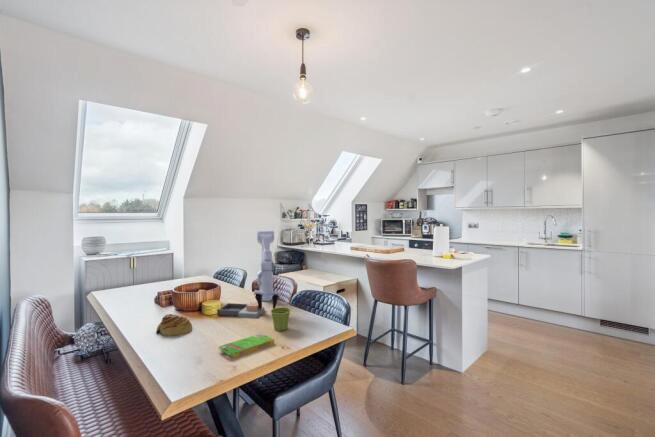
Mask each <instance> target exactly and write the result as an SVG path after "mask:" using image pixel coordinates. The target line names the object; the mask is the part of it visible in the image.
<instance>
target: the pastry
mask: <svg viewBox="0 0 655 437" xmlns="http://www.w3.org/2000/svg"><path fill="white" fill-rule="evenodd" d="M192 331H193V325H192V323H191V321H190V319H189V318H187V317H184V316H182V315H181V316H179V315H176V314H172V313H168V314H166V315H165V314H164V316H163V317H162V318H161V322H159V324H158V325H157V327H156V332H155V333H156V334H161V335H162V336H165V337H174V336H179V335H180V336H181V335H185V334H188V333H191V332H192Z"/></svg>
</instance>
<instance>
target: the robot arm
mask: <svg viewBox="0 0 655 437" xmlns="http://www.w3.org/2000/svg"><path fill="white" fill-rule="evenodd" d="M256 232H257V234H256V236H257V243H258V244H260V245H261V256H260V257H261V262H260V270H259V271H257V275H256V276H257V278H256V280H257V283H256V284H257V285H258V286H259V290H258V289H257V290H254V291H253V295H254V298H255V300H256V303H258V305H259V309H261V308H262V307H263V302H271V300H272V309H274V308H277V302H278V299H279V298H280V297H281V295H282V291H278V290H274V286H273V284H274V279H275V278H274V271H273V270H274V269H275V268H274V261H273V260H274V259H273V253H272V250H271V248H270V246H271V244H272V243H274V241H275V231H274V230H258V231H256Z"/></svg>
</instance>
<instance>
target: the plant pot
mask: <svg viewBox="0 0 655 437" xmlns="http://www.w3.org/2000/svg"><path fill="white" fill-rule="evenodd" d="M291 311H292V310H291V308H289V307H275V308H274V309H273V308H271V309H270V313H271V317H272V323H273V330H275V331H277V332H283V331H284V330H287V329H288V324H289V317H290V313H291Z"/></svg>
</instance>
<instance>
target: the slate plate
mask: <svg viewBox="0 0 655 437" xmlns="http://www.w3.org/2000/svg"><path fill="white" fill-rule="evenodd" d="M265 308H266V307H265V306H262V308H261V309H259V310H257V311H248V310H246V307H245V308H244V309H243V310H241V311H240V312H239V313H238V317H239V318H258V317H259V316H260V315H261V314H262V313H264V312H265V311H266V310H265Z"/></svg>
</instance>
